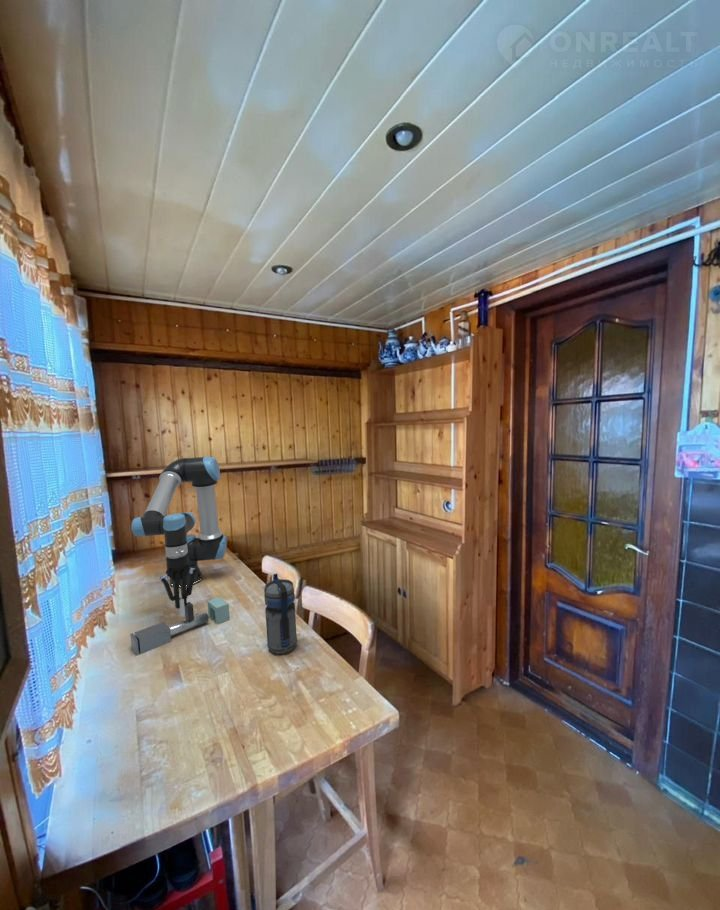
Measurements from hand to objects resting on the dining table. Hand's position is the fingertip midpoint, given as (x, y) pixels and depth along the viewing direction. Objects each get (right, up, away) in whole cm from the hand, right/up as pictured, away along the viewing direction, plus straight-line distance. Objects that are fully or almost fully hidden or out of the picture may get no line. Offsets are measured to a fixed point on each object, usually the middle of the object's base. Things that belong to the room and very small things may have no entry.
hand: (181, 615), depth 143 cm
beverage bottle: (+41, -6, -13) cm, 44 cm away
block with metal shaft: (-1, -7, -1) cm, 7 cm away
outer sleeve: (-7, -8, -7) cm, 13 cm away
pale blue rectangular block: (+10, -6, +10) cm, 16 cm away
